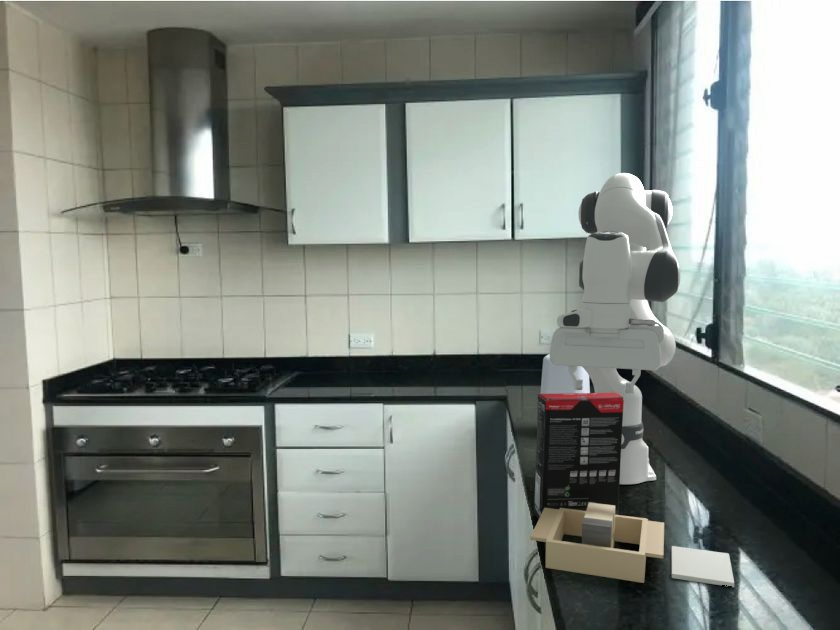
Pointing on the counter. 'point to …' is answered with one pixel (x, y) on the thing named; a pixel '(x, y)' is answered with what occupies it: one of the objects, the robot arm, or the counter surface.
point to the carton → (598, 557)
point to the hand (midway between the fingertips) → (603, 391)
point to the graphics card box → (578, 450)
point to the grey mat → (702, 566)
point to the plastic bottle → (561, 379)
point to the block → (599, 525)
